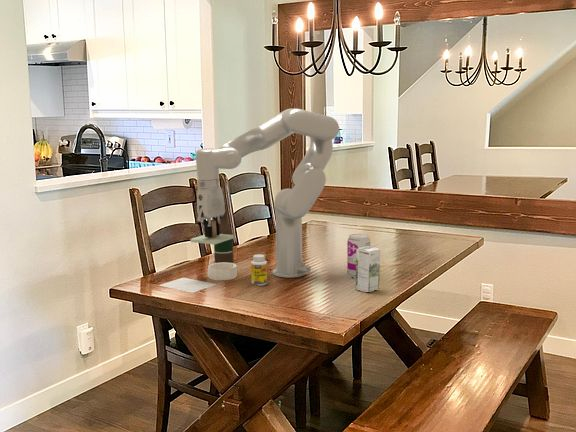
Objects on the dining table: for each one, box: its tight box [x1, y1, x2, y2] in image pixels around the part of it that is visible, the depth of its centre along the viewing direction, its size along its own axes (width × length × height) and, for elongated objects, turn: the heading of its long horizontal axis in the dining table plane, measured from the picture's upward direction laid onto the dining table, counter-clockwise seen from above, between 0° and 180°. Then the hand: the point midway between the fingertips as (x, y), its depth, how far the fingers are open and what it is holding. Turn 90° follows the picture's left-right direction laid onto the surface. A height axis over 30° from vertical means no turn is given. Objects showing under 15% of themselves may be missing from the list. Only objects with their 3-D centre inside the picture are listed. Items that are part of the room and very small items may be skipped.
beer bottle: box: [213, 202, 234, 263], centre depth 244 cm, size 8×8×24 cm
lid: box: [189, 219, 235, 246], centre depth 217 cm, size 11×11×7 cm
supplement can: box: [346, 233, 371, 279], centre depth 222 cm, size 8×8×15 cm
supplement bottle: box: [250, 254, 268, 287], centre depth 214 cm, size 6×6×10 cm
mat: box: [158, 277, 217, 294], centre depth 213 cm, size 16×12×1 cm
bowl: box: [207, 262, 238, 281], centre depth 223 cm, size 10×10×4 cm
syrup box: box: [355, 245, 381, 293], centre depth 205 cm, size 6×6×14 cm
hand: (212, 235), depth 217 cm, fingers closed on lid, 3 cm apart
